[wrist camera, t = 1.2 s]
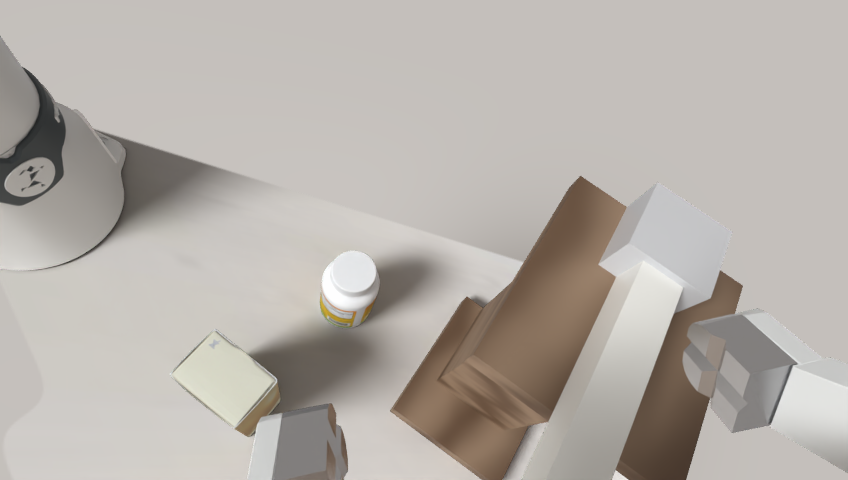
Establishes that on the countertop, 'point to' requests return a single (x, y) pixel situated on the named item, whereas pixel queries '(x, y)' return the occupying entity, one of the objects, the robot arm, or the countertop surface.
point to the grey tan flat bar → (629, 332)
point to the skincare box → (228, 382)
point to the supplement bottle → (349, 289)
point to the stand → (553, 355)
